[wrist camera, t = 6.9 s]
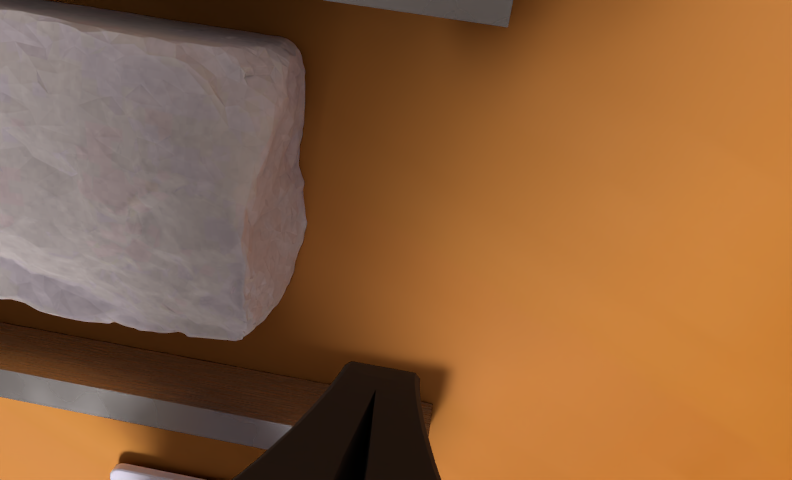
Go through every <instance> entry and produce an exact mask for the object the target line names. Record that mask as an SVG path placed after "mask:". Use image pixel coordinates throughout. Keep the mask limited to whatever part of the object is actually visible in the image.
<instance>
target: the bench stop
mask: <svg viewBox="0 0 792 480" xmlns="http://www.w3.org/2000/svg"><path fill="white" fill-rule="evenodd" d="M325 1H332V2H339V3H346V4H352V5H359V6H366V7H373V8H380V9H386V10H393V11H400V12H407V13H414V14H420V15H427V16H434V17H441V18H447V19H454V20H461V21H468V22H475V23H481V24H488V25H495V26H502V27H508V24H509V19H510V14H511V9H512V4H513V0H325ZM329 386H330V384H324V383H319V382H314V381H309V380H303V379H298V378H293V377H287V376H282V375H277V374H272V373H266V372H261V371H256V370H250V369H245V368H240V367H235V366H229V365H224V364H219V363H213V362H208V361H203V360H197V359H192V358H187V357H182V356H176V355H171V354H166V353H160V352H155V351H150V350H145V349H139V348H134V347H129V346H123V345H118V344H113V343H108V342H102V341H97V340H92V339H86V338H81V337H76V336H71V335H65V334H60V333H55V332H49V331H44V330H39V329H33V328H28V327H23V326H18V325H12V324H7V323H2V322H0V397H4V398H9V399H14V400H19V401H24V402H29V403H34V404H39V405H44V406H49V407H54V408H59V409H64V410H69V411H74V412H80V413H85V414H90V415H95V416H100V417H105V418H110V419H115V420H120V421H125V422H130V423H135V424H140V425H145V426H150V427H156V428H161V429H166V430H171V431H176V432H181V433H186V434H191V435H196V436H201V437H206V438H211V439H216V440H221V441H226V442H231V443H237V444H242V445H247V446H252V447H257V448H262V449H267V450H268V449H269V448H270V447H271V446H272V445H273V444H275V443H276V442H277V441H278V440H279V439H280V438H281V437H282V436H283V435H284V434H285V433H286V432H287V431H289V430H290V429H291V428H292V427H293V426H294V425H295V424H296V423H297V421H298V420H299V419H300V418H301V417H302V416H303V415H304V414H305V413H306V412H307V411H308V410H309V409H310V408H311V407H312V406H313V405H314V404H315V402H316V401H317V400H318V399H319V398H320V397H321V396H322V394H323V393H324V392H325V391H326V390H327V389H328V387H329ZM421 406H422V412H423V417H424V422H425V427H426V431H427V435H428V436H429V428H430V420H431V412H432V404H430V403H425V402H421Z"/></svg>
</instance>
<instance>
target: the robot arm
mask: <svg viewBox="0 0 792 480" xmlns="http://www.w3.org/2000/svg"><path fill="white" fill-rule="evenodd" d="M110 480H205V479H200V478H195V477H190V476H185V475H180V474H175V473H170V472H165V471H160V470H155V469H151V468H146V467H141V466H136V465H131V464H125V463H120V464H117V465H116V466H115V467H114V469H113V470H112V471H111V473H110ZM232 480H441V478H440V475H439V472H438V469H437V466H436V463H435V460H434V456H433V453H432V449H431V446H430V442H429V438H428V435H427V431H426V427H425V422H424V417H423V412H422V406H421V398H420V378H419V377H418V376H417V375H416V373H413V372H408V371H402V370H397V369H391V368H386V367H380V366H375V365H369V364H364V363H358V362H353V361H351V362H349V363H348V364H346V365H345V366H344V367H343V369H342V370H341V372H340V373H339V375H338V376H337V377H336V379H335V380H334V381H333V382H332V384H331V385H330V386H329V387H328V389H327V390H326V391H325V392H324V393H323V394H322V396H321V397H320V398H319V399H318V400H317V401H316V402H315V404H314V405H313V406H312V407H311V408H310V409H309V410H308V411H307V412H306V413H305V414H304V415H303V416H302V417H301V418H300V419H299V420H298V421H297V423H296V424H295V425H294V426H293V427H292V428H291V429H290V430H289V431H287V432H286V433H285V434H284V435H283V436H282V437H281V438H280V439H279V440H278V441H277V442H276V443H275V444H273V445H272V446H271V447H270V448H269V449H268V450H267V451H266V452H265V453H264V454H263V455H261V456H260V457H259V458H258V459H257V460H256V461H254V462H253V463H252V464H251V465H250V466H248V467H247V468H246V469H245V470H244V471H242V472H241V473H240V474H239V475H237V476H236V477H235V478H233V479H232Z"/></svg>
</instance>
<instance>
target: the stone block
mask: <svg viewBox="0 0 792 480" xmlns="http://www.w3.org/2000/svg"><path fill="white" fill-rule="evenodd" d="M304 111H305V68H304V65H303V60H302V55H301V53H300V51H299V49H298V48H297V47H296V45H295V44H294V43H293V42H292V41H290V40H288V39H287V38H284V37H281V36H272V35H264V34H260V33H255V32H248V31H240V30H234V29H227V28H221V27H214V26H209V25H203V24H197V23H189V22H182V21H175V20H169V19H162V18H156V17H150V16H145V15H139V14H134V13H128V12H121V11H114V10H107V9H101V8H95V7H89V6H82V5H73V4H67V3H61V2H54V1H47V0H0V299H13V300H16V301H20V302H23V303H26V304H27V305H29V306H31V307H32V308H34V309H36V310H38V311H41V312H44V313H48V314H52V315H56V316H60V317H64V318H69V319H74V320H79V321H84V322H98V323H107V324H109V323H112V322H116V323H119V324H121V325H123V326H127V327H131V328H135V329H137V330H139V331H153V332H158V333H173V332H181V333H184V334H185V335H187V336H188V337H199V338H209V339H219V340H231V341H237V340H242V339H243V337H244V336H246V335H248V334H249V333H250V332H251V331H253V330H254V329H255V327H256V326H257V325H259V324H260V323H262V322H263V321H264V320H265V319H266V318H267V316H268V314H269V313H270V312H271V311H272V309H273V308H274V307H275V306H277V305H278V303H279V301H280V300H281V298H282V296H283V294H284V292H285V290H286V287H287V285H288V284H289V283H290V280H291V277H292V275H293V273H294V267H295V261H296V258H297V255H298V252H299V249H300V247H301V245H302V244H303V240H304V233H305V229H306V226H307V220H306V215H305V205H304V198H303V187H304V180H303V177H302V174H301V171H300V168H299V155H300V143H301V139H302V136H303V130H302V129H303V126H304Z"/></svg>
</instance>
